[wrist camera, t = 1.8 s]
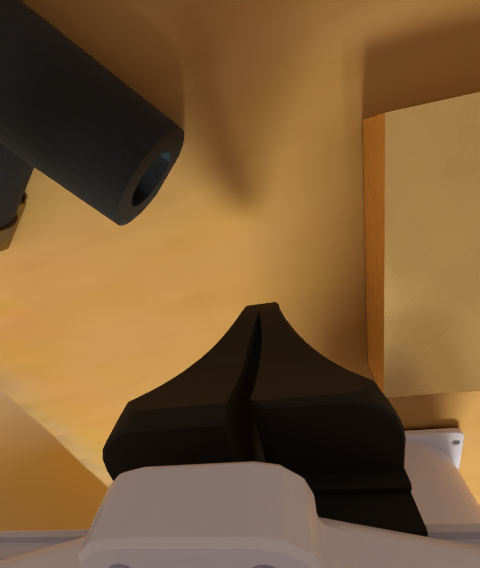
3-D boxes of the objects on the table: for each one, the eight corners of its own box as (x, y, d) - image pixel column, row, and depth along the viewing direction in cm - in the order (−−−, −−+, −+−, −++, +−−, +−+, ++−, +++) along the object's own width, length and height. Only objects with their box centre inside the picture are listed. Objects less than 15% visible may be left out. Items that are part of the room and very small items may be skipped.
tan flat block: (522, 349, 17) (594, 405, 14) (367, 364, 19) (393, 418, 15) (587, 70, 12) (739, 33, 8) (362, 120, 13) (401, 107, 9)
